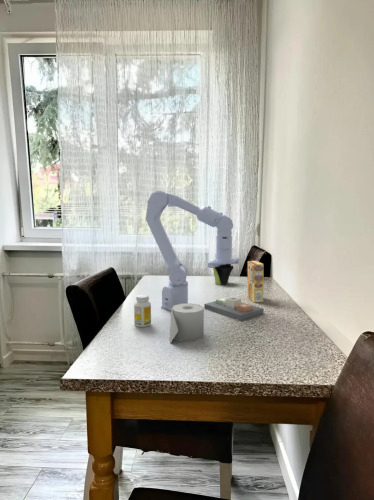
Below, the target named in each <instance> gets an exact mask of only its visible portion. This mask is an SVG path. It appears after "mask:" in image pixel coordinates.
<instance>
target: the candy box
mask: <svg viewBox="0 0 374 500" xmlns="http://www.w3.org/2000/svg"><path fill="white" fill-rule="evenodd" d="M264 268H265V267H264V263H262V262H260V261H258V260H248V261H247V298H248V299H250V300H251V301H252V302H253V303H263V302H264Z"/></svg>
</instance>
